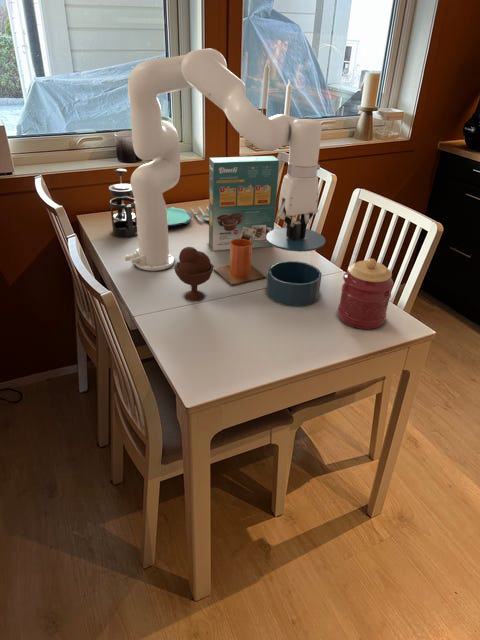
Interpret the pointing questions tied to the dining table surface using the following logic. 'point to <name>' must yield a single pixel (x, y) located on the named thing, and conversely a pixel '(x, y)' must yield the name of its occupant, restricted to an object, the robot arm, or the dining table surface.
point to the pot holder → (234, 280)
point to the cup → (240, 257)
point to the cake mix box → (242, 199)
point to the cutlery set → (182, 216)
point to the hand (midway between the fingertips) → (295, 236)
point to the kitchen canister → (365, 294)
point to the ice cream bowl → (193, 271)
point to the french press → (123, 219)
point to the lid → (299, 244)
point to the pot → (293, 283)
